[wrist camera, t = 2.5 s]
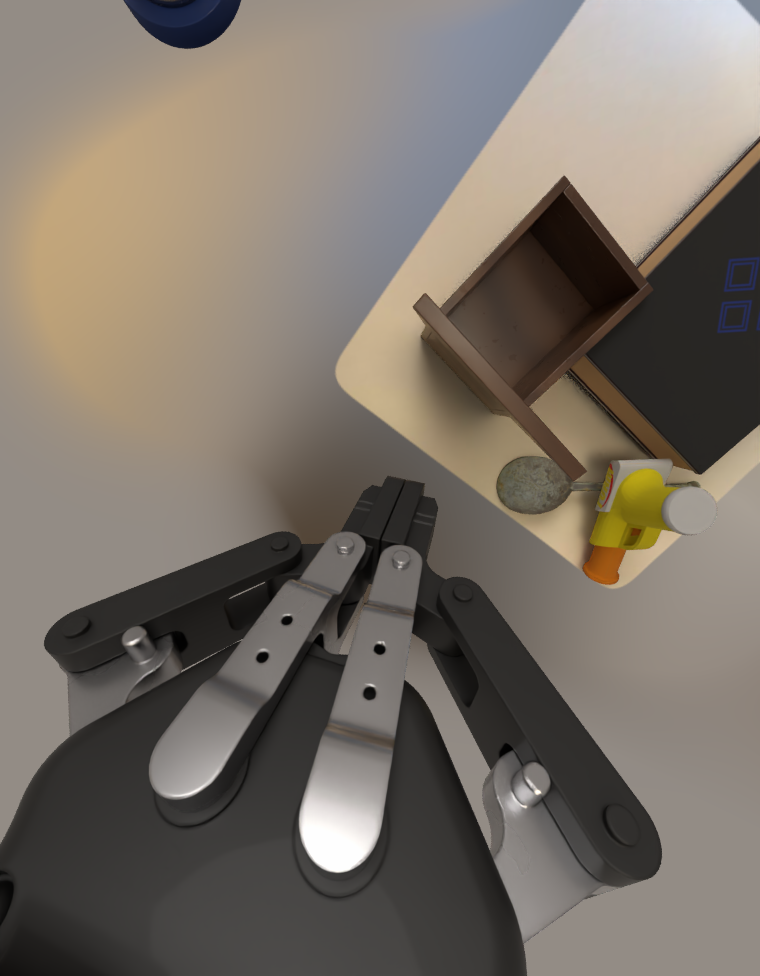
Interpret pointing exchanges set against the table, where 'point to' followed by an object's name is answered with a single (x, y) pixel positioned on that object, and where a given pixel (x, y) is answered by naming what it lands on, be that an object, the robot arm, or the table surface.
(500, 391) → the lid
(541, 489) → the soupspoon
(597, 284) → the box
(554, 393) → the table surface
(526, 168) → the table surface
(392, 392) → the table surface
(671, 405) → the book
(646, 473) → the toy
